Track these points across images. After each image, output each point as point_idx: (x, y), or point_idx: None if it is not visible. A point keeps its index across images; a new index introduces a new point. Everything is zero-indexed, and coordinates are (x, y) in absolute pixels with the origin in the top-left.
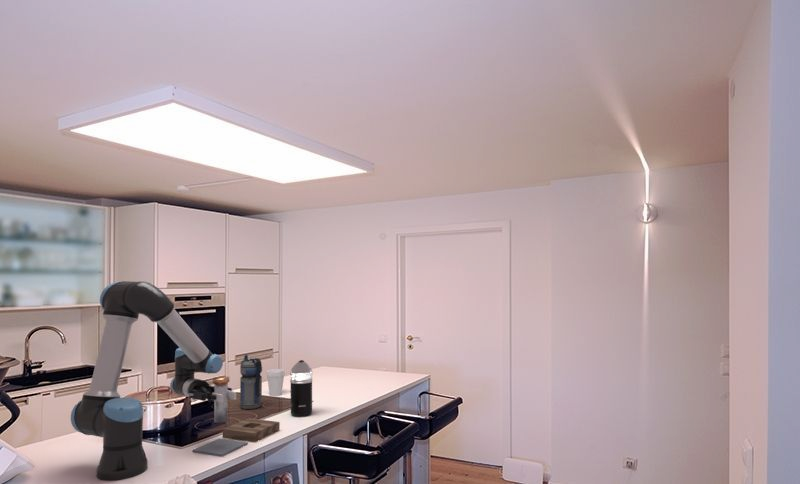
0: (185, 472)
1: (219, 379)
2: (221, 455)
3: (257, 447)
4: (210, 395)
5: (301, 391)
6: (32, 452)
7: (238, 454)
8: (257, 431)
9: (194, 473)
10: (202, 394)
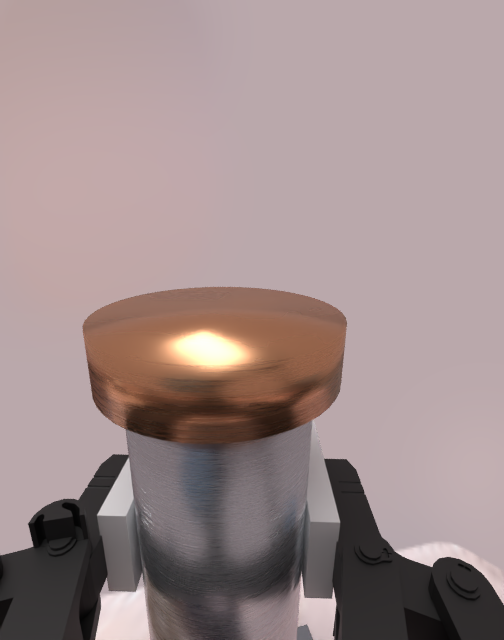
0: (497, 590)
1: (289, 295)
2: (309, 634)
3: (125, 599)
4: (370, 513)
5: None
6: None
7: None
8: None
9: (457, 551)
10: (497, 600)
